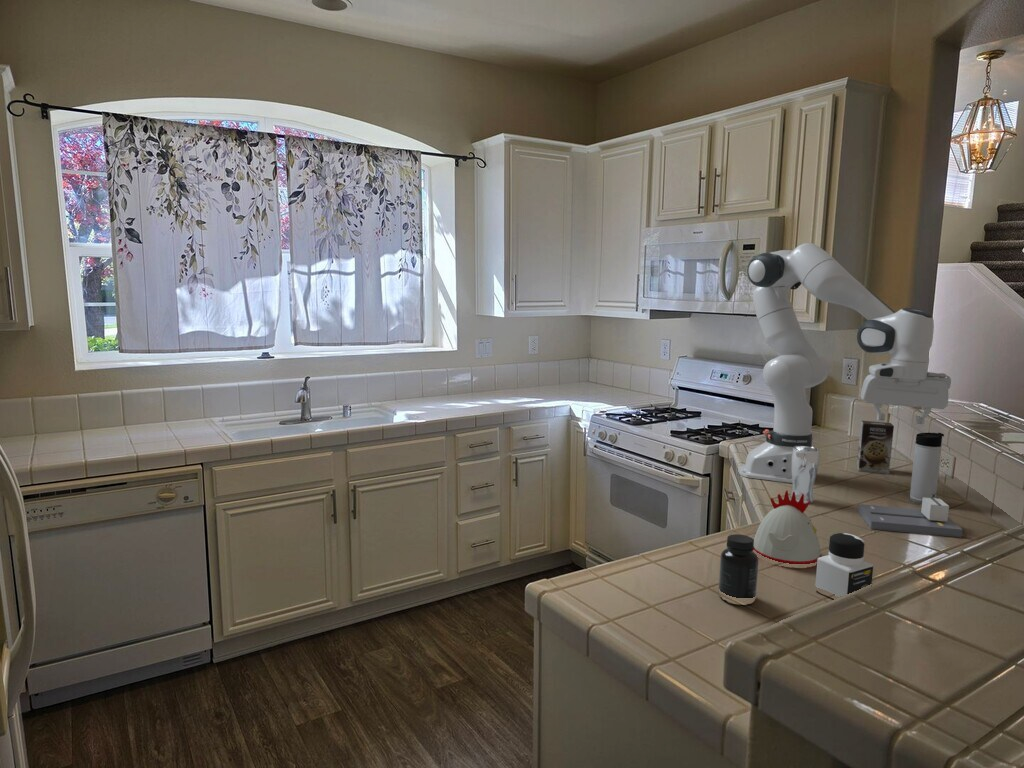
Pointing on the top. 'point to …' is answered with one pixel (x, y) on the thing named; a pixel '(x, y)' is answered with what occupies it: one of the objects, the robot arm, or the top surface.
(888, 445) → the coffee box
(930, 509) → the fader knob
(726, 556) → the supplement bottle
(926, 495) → the travel mug
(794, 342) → the robot arm
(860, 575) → the medicine bottle
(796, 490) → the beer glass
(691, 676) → the top surface
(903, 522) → the fader panel
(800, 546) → the kitchen timer
